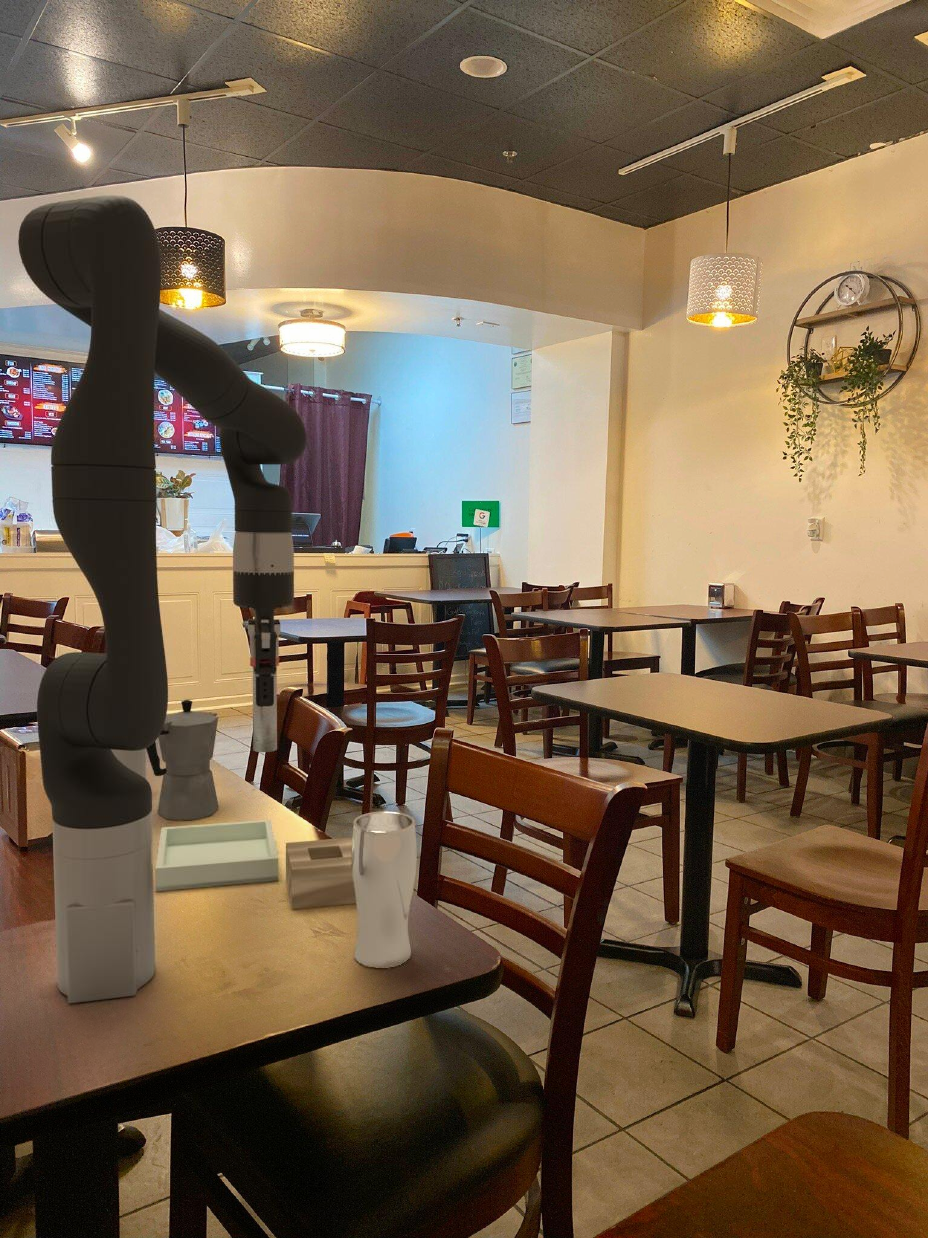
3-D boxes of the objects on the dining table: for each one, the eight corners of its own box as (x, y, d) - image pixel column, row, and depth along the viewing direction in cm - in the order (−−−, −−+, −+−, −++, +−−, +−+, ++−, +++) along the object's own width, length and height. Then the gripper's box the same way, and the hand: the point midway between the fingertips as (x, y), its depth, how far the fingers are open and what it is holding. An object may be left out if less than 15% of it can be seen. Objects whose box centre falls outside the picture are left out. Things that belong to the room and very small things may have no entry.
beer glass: (343, 945, 98) (344, 814, 96) (404, 936, 100) (406, 808, 99) (358, 976, 91) (360, 836, 90) (423, 965, 94) (425, 829, 92)
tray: (278, 880, 115) (278, 858, 114) (155, 891, 111) (155, 868, 110) (270, 839, 129) (270, 819, 129) (162, 848, 125) (161, 827, 125)
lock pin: (280, 752, 113) (279, 659, 112) (250, 753, 112) (250, 659, 111) (278, 745, 116) (278, 654, 115) (250, 746, 116) (249, 655, 114)
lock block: (366, 902, 109) (366, 863, 108) (292, 909, 106) (292, 869, 106) (354, 873, 117) (355, 837, 117) (286, 880, 115) (285, 842, 114)
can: (97, 792, 149) (95, 722, 148) (144, 787, 152) (142, 719, 151) (99, 805, 142) (97, 732, 141) (148, 800, 145) (147, 729, 144)
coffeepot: (194, 795, 148) (192, 689, 146) (239, 804, 144) (238, 695, 142) (123, 823, 134) (120, 707, 132) (171, 834, 131) (169, 714, 128)
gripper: (297, 572, 106) (297, 714, 108) (290, 565, 119) (290, 691, 121) (233, 571, 104) (234, 716, 106) (232, 565, 117) (234, 693, 119)
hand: (264, 702), depth 114 cm, fingers closed on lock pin, 3 cm apart
